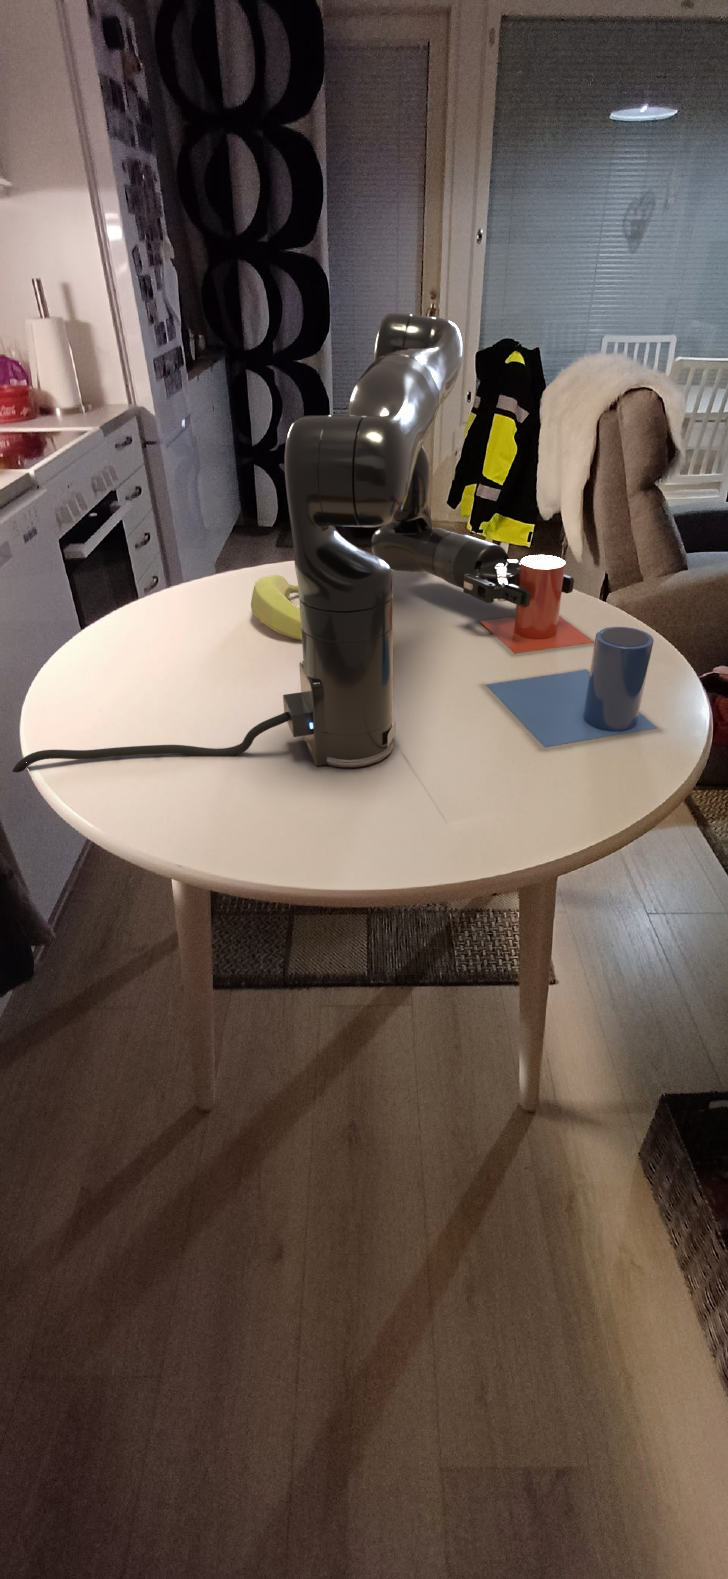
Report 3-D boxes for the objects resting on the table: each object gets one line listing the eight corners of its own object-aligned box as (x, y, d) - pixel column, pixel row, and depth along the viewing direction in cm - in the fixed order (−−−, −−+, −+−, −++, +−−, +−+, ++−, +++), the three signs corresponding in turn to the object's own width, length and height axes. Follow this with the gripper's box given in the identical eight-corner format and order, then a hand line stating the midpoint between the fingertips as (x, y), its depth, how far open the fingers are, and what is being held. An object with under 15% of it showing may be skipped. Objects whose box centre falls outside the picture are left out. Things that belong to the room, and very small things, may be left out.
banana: (234, 588, 107) (275, 561, 125) (227, 625, 110) (268, 593, 127) (327, 618, 107) (355, 586, 124) (317, 655, 109) (346, 619, 127)
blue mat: (544, 749, 84) (544, 747, 84) (485, 686, 97) (485, 684, 97) (657, 730, 87) (657, 727, 87) (585, 671, 100) (586, 669, 100)
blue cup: (599, 735, 86) (614, 651, 80) (573, 710, 91) (585, 630, 85) (647, 726, 87) (665, 643, 82) (618, 703, 92) (633, 623, 87)
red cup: (525, 641, 108) (532, 570, 102) (507, 626, 112) (513, 557, 107) (564, 636, 109) (573, 565, 103) (544, 621, 114) (552, 552, 108)
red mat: (514, 655, 105) (515, 653, 105) (479, 623, 114) (480, 621, 114) (594, 644, 107) (594, 642, 107) (553, 613, 117) (553, 611, 117)
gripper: (434, 547, 111) (516, 576, 100) (506, 530, 118) (589, 555, 107) (433, 598, 115) (510, 631, 105) (502, 578, 122) (581, 607, 111)
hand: (550, 592), depth 106 cm, fingers open, 8 cm apart
